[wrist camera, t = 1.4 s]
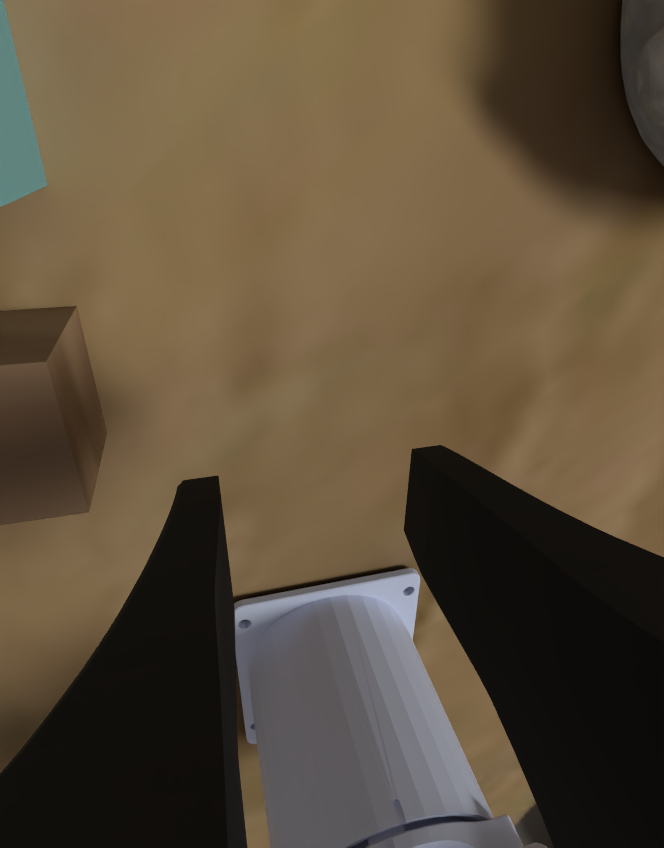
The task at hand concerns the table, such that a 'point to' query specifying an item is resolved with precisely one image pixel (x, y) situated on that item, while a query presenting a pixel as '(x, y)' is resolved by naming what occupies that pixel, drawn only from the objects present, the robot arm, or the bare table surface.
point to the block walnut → (47, 416)
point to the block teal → (15, 126)
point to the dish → (644, 69)
